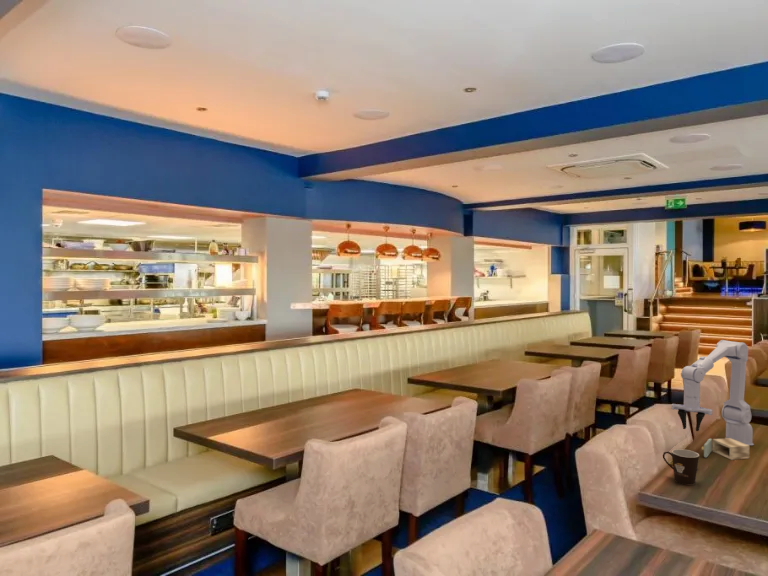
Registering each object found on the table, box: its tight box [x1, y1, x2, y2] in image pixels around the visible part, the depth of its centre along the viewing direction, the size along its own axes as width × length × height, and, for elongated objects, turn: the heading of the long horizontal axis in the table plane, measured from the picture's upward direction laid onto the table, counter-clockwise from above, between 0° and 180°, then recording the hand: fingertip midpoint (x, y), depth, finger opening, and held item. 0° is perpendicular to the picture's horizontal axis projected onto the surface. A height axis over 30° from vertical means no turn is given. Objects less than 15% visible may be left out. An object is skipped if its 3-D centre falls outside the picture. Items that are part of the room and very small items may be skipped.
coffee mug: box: [662, 448, 700, 485], centre depth 204 cm, size 12×9×10 cm
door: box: [701, 438, 713, 458], centre depth 230 cm, size 2×10×5 cm, turn 140°
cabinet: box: [711, 437, 751, 461], centre depth 230 cm, size 8×10×5 cm
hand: (691, 429), depth 232 cm, fingers open, 4 cm apart
